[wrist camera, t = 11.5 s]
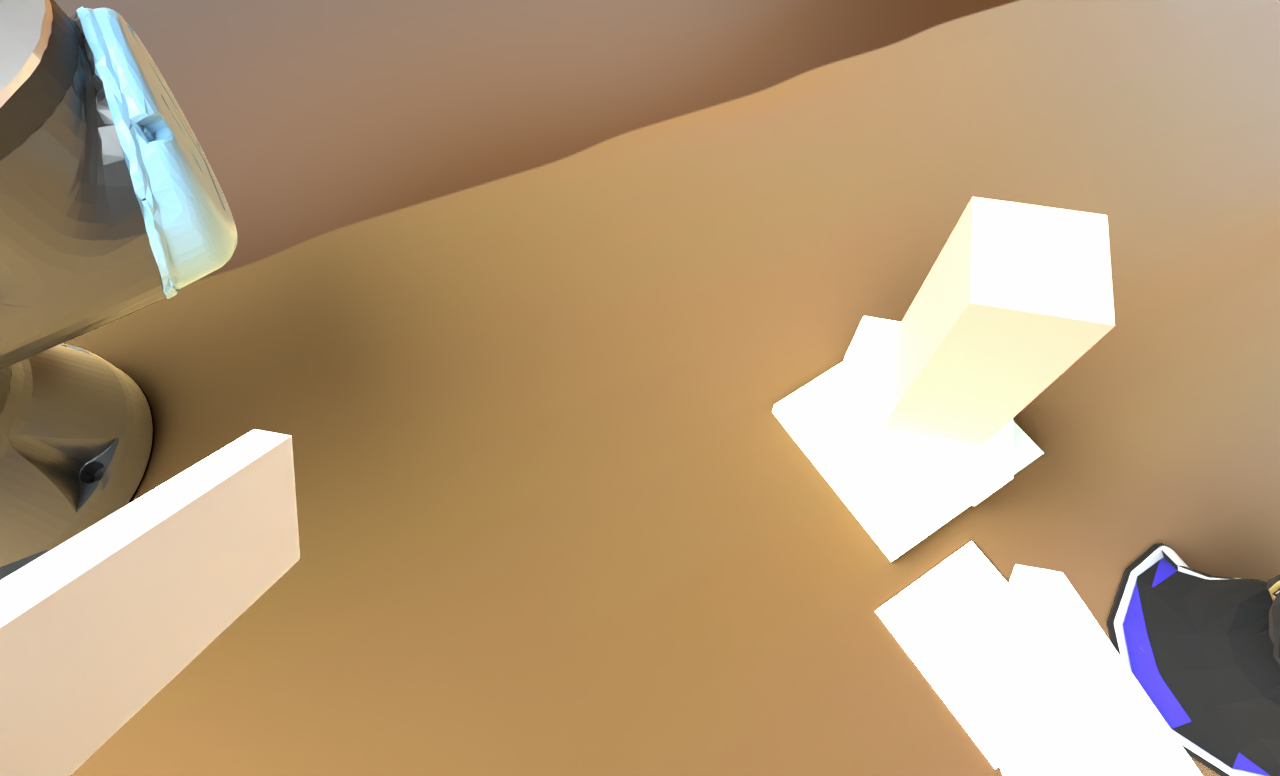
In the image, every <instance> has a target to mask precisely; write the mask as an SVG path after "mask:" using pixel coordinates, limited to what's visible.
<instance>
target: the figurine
mask: <svg viewBox="0 0 1280 776" xmlns="http://www.w3.org/2000/svg"><path fill="white" fill-rule="evenodd" d="M1107 625H1108V630H1109V635H1110V639H1111V643H1112V644H1113V646H1114V647H1115V649H1116V650H1117V652H1118V653H1119V655H1120V656H1121V657H1122V659H1123V660H1124V662H1125V663H1126V665H1127V666H1128V668H1129V669H1130V671H1131V672H1132V673H1133V675H1134V676H1135V678H1136V679H1137V681H1138V682H1139V684H1140V685H1141V687H1142V688H1143V689H1144V691H1145V692H1146V694H1147V695H1148V697H1149V698H1150V700H1151V701H1152V703H1153V704H1154V705H1155V707H1156V708H1157V710H1158V711H1159V713H1160V714H1161V716H1162V717H1163V718H1164V720H1165V721H1166V723H1167V724H1168V726H1169V727H1170V729H1171V730H1172V732H1173V733H1174V734H1175V736H1176V737H1177V739H1178V740H1179V742H1180V743H1181V745H1182V746H1183V748H1184V749H1185V750H1186V752H1187V753H1188V755H1190V756H1191V757H1193V758H1194V759H1196V760H1198V761H1199V762H1201V763H1202V764H1204V765H1205V766H1207V767H1208V768H1210V769H1211V770H1213V771H1215V772H1216V773H1218V774H1219V775H1221V776H1280V575H1278V576H1276V577H1274V578H1272V579H1270V580H1268V583H1266V582H1263V581H1260V580H1252V579H1241V578H1227V577H1213V576H1210V575H1207V574H1205V573H1202V572H1199V571H1196V570H1194V569H1191V568H1189V567H1188V566H1187V565H1186V564H1185V562H1184V561H1183V560H1182V559H1181V558H1180V557H1179V556H1178V555H1177V554H1176V553H1175V551H1174V550H1173V549H1172V548H1170V547H1169V546H1166V545H1164V544H1155V545H1154V546H1152V547H1151V548H1150V549H1149V550H1148V551H1147V552H1146V553H1144V554H1143V555H1142V556H1141V557H1140V558H1139V559H1138V560H1136V561H1135V562H1134V563H1133V564H1132V565H1131V566H1130V567H1128V568H1127V569H1126V570H1125V571H1124V574H1123V577H1122V580H1121V583H1120V586H1119V589H1118V592H1117V595H1116V598H1115V601H1114V604H1113V606H1112V609H1111V612H1110V615H1109V618H1108V621H1107Z"/></svg>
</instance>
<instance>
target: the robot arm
mask: <svg viewBox="0 0 1280 776" xmlns="http://www.w3.org/2000/svg"><path fill="white" fill-rule="evenodd" d="M236 246H237V231H236V226H235V223H234V219H233V217H232V214H231V211H230V209H229V206H228V204H227V201H226V199H225V197H224V194H223V192H222V190H221V188H220V185H219V183H218V181H217V179H216V177H215V175H214V173H213V171H212V169H211V167H210V165H209V162H208V161H207V158H206V156H205V154H204V152H203V150H202V148H201V146H200V144H199V143H198V140H197V139H196V137H195V135H194V133H193V131H192V129H191V127H190V125H189V123H188V121H187V120H186V118H185V116H184V114H183V112H182V110H181V109H180V106H179V105H178V103H177V101H176V99H175V97H174V96H173V94H172V92H171V90H170V89H169V87H168V85H167V83H166V81H165V80H164V78H163V76H162V75H161V73H160V71H159V69H158V68H157V66H156V64H155V63H154V61H153V59H152V58H151V56H150V55H149V53H148V51H147V50H146V48H145V47H144V45H143V44H142V42H141V40H140V39H139V37H138V36H137V34H136V33H135V32H134V30H133V29H132V28H131V27H130V26H129V25H128V24H127V23H126V22H125V20H124V18H123V17H122V16H121V15H120V14H118V13H117V12H115V11H114V10H112V9H109V8H99V9H90V8H85V9H83V7H81V8H79V9H77V12H76V13H75V14H74V15H73V16H72V17H71V18H70V17H68V16H67V15H66V14H65V13H64V12H63V11H62V10H61V8H60V7H59V6H58V5H57V4H56V2H55V1H54V0H0V776H70V775H72V774H73V773H74V772H75V771H76V770H77V769H78V768H79V767H80V766H81V765H82V764H83V763H84V762H85V761H86V760H87V759H89V758H90V757H91V756H92V755H93V754H94V753H95V752H96V751H97V750H98V749H99V748H100V747H101V746H102V745H103V744H104V743H106V742H107V741H108V740H109V739H110V738H111V737H112V736H113V735H114V734H115V733H116V732H117V731H118V730H119V729H120V728H121V727H123V726H124V725H125V724H126V723H127V722H128V721H129V720H130V719H131V718H132V717H133V716H134V715H135V714H136V713H137V712H138V711H139V710H141V709H142V708H143V707H144V706H145V705H146V704H147V703H148V702H149V701H150V700H151V699H152V698H153V697H154V696H155V695H156V694H158V693H159V692H160V691H161V690H162V689H163V688H164V687H165V686H166V685H167V684H168V683H169V682H170V681H171V680H172V679H173V678H175V677H176V676H177V675H178V674H179V673H180V672H181V671H182V670H183V669H184V668H185V667H186V666H187V665H188V664H189V663H190V662H192V661H193V660H194V659H195V658H196V657H197V656H198V655H199V654H200V653H201V652H202V651H203V650H204V649H205V648H206V647H207V646H209V645H210V644H211V643H212V642H213V641H214V640H215V639H216V638H217V637H218V636H219V635H220V634H221V633H222V632H223V631H224V630H226V629H227V628H228V627H229V626H230V625H231V624H232V623H233V622H234V621H235V620H236V619H237V618H238V617H239V616H240V615H241V614H242V613H244V612H245V611H246V610H247V609H248V608H249V607H250V606H251V605H252V604H253V603H254V602H255V601H256V600H257V599H258V598H259V597H261V596H262V595H263V594H264V593H265V592H266V591H267V590H268V589H269V588H270V587H271V586H272V585H273V584H274V583H275V582H276V581H278V580H279V579H280V578H281V577H282V576H283V575H284V574H285V573H286V572H287V571H288V570H289V569H290V568H291V567H292V566H293V565H295V564H296V563H297V562H298V561H299V560H300V546H299V532H298V518H297V503H296V489H295V475H294V460H293V446H292V435H286V434H280V433H275V432H269V431H263V430H258V429H253V430H251V431H250V432H248V433H246V434H245V435H243V436H241V437H240V438H238V439H236V440H235V441H233V442H231V443H230V444H228V445H226V446H225V447H223V448H221V449H220V450H218V451H216V452H214V453H213V454H211V455H209V456H208V457H206V458H204V459H203V460H201V461H199V462H198V463H196V464H194V465H193V466H191V467H189V468H188V469H186V470H184V471H183V472H181V473H179V474H178V475H176V476H174V477H173V478H171V479H169V480H168V481H166V482H164V483H163V484H161V485H159V486H158V487H156V488H154V489H152V490H151V491H149V492H147V493H146V494H144V495H142V496H141V497H139V498H137V499H136V500H134V501H132V502H131V503H129V504H128V502H129V501H130V499H131V498H132V496H133V494H134V493H135V491H136V489H137V487H138V485H139V483H140V481H141V479H142V477H143V474H144V471H145V469H146V466H147V463H148V460H149V456H150V451H151V445H152V435H153V425H152V417H151V412H150V408H149V405H148V402H147V400H146V397H145V396H144V394H143V392H142V390H141V389H140V387H139V386H138V385H137V384H136V382H135V381H134V380H133V379H132V378H131V377H130V376H128V375H127V374H126V373H124V372H123V371H121V370H120V369H118V368H117V367H115V366H114V365H112V364H111V363H109V362H107V361H106V360H104V359H103V358H101V357H99V356H98V355H96V354H94V353H92V352H89V351H87V350H84V349H82V348H79V347H75V346H71V345H66V344H61V343H64V342H66V341H68V340H71V339H73V338H75V337H78V336H80V335H82V334H84V333H87V332H89V331H91V330H94V329H96V328H98V327H101V326H103V325H105V324H107V323H110V322H112V321H114V320H117V319H119V318H121V317H124V316H126V315H128V314H130V313H133V312H135V311H137V310H140V309H142V308H144V307H147V306H149V305H151V304H153V303H156V302H158V301H160V300H163V299H165V298H166V299H170V298H172V297H173V296H176V294H177V293H178V290H179V289H181V288H183V287H185V286H187V285H189V284H191V283H193V282H195V281H196V280H198V279H200V278H202V277H204V276H206V275H208V274H210V273H212V272H214V271H216V270H217V269H219V268H221V267H222V266H224V265H225V263H227V262H228V261H229V260H230V259H231V257H232V255H233V253H234V251H235V248H236ZM970 691H971V694H972V697H973V699H974V702H975V704H976V707H977V710H978V712H979V715H980V718H981V720H982V723H983V726H984V728H985V731H986V733H987V736H988V739H989V741H990V744H991V747H992V749H993V752H994V755H995V757H996V760H997V763H998V765H999V768H1000V770H1001V773H1002V776H1203V775H1202V774H1201V772H1200V771H1199V769H1198V768H1197V766H1196V765H1195V764H1194V762H1193V761H1192V759H1191V758H1190V756H1189V755H1188V753H1187V752H1186V750H1185V749H1184V748H1183V746H1182V745H1181V743H1180V742H1179V740H1178V739H1177V737H1176V736H1175V734H1174V733H1173V732H1172V730H1171V729H1170V727H1169V726H1168V724H1167V723H1166V721H1165V720H1164V718H1163V717H1162V716H1161V714H1160V713H1159V711H1158V710H1157V708H1156V707H1155V705H1154V704H1153V703H1152V701H1151V700H1150V698H1149V697H1148V695H1147V694H1146V692H1145V691H1144V689H1143V688H1142V687H1141V685H1140V684H1139V682H1138V681H1137V679H1136V678H1135V676H1134V675H1133V673H1132V672H1131V671H1130V669H1129V668H1128V666H1127V665H1126V663H1125V662H1124V660H1123V659H1122V657H1121V656H1120V655H1119V653H1118V652H1117V650H1116V649H1115V647H1114V646H1113V644H1112V643H1111V642H1110V640H1109V639H1108V637H1107V636H1106V634H1105V633H1104V631H1103V630H1102V628H1101V627H1100V626H1099V624H1098V623H1097V621H1096V620H1095V618H1094V617H1093V615H1092V614H1091V612H1090V611H1089V610H1088V608H1087V607H1086V605H1085V604H1084V602H1083V601H1082V599H1081V598H1080V596H1079V595H1078V594H1077V592H1076V591H1075V589H1074V588H1073V586H1072V585H1071V583H1070V582H1069V581H1068V579H1067V578H1066V576H1065V575H1064V573H1063V572H1059V571H1053V570H1048V569H1042V568H1036V567H1031V566H1025V565H1019V564H1015V566H1014V569H1013V572H1012V575H1011V578H1010V580H1009V583H1008V586H1007V589H1006V592H1005V595H1004V597H1003V600H1002V603H1001V606H1000V609H999V611H998V614H997V617H996V620H995V623H994V625H993V628H992V631H991V634H990V637H989V639H988V642H987V645H986V648H985V651H984V653H983V656H982V659H981V662H980V665H979V667H978V670H977V673H976V676H975V679H974V681H973V684H972V687H971V690H970Z"/></svg>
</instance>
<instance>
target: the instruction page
mask: <svg viewBox="0 0 1280 776" xmlns="http://www.w3.org/2000/svg"><path fill="white" fill-rule="evenodd" d="M1007 586H1008V582H1007V581H1006V580H1005V579H1004V578H1003V576H1002V575H1001V574H1000V573H999V572H998V571H997V569H996V568H995V567H994V566H993V565H992V564H991V562H990V561H989V560H988V559H987V558H986V557H985V555H984V554H983V553H982V552H981V551H980V550H979V548H978V547H977V546H976V545H975V544H974V543H973V541H970V542H969V543H967V544H966V545H965V546H963V547H962V548H960V549H959V550H958V551H956V552H955V553H954V554H952V555H951V556H949V557H948V558H947V559H945V560H944V561H943V562H941V563H940V564H938V565H937V566H936V567H934V568H933V569H932V570H930V571H929V572H927V573H926V574H925V575H923V576H922V577H921V578H919V579H918V580H916V581H915V582H914V583H912V584H911V585H909V586H908V587H907V588H905V589H904V590H903V591H901V592H900V593H898V594H897V595H896V596H894V597H893V598H892V599H890V600H889V601H887V602H886V603H885V604H883V605H882V606H881V607H879V608H878V609H876V610H875V613H876V614H877V615H878V617H879V618H880V619H881V620H882V622H883V623H884V624H885V626H886V627H887V628H888V630H889V631H890V632H891V634H892V635H893V636H894V638H895V639H896V640H897V641H898V643H899V644H900V645H901V647H902V648H903V649H904V651H905V652H906V653H907V655H908V656H909V657H910V659H911V660H912V661H913V663H914V664H915V665H916V666H917V668H918V669H919V670H920V672H921V673H922V674H923V676H924V677H925V678H926V680H927V681H928V682H929V684H930V685H931V686H932V687H933V689H934V690H935V691H936V693H937V694H938V695H939V697H940V698H941V699H942V701H943V702H944V703H945V705H946V706H947V707H948V708H949V710H950V711H951V712H952V714H953V715H954V716H955V718H956V719H957V720H958V722H959V723H960V724H961V726H962V727H963V728H964V729H965V731H966V732H967V733H968V735H969V736H970V737H971V739H972V740H973V741H974V743H975V744H976V745H977V747H978V748H979V749H980V751H981V752H982V753H983V754H984V756H985V757H986V758H987V760H988V761H989V762H990V764H991V765H992V766H993V768H994V769H997V768H998V767H999V765H998V763H997V760H996V757H995V755H994V752H993V749H992V747H991V744H990V741H989V739H988V736H987V733H986V731H985V728H984V726H983V723H982V720H981V718H980V715H979V712H978V710H977V707H976V704H975V702H974V699H973V697H972V694H971V691H970V690H971V687H972V684H973V681H974V679H975V676H976V673H977V670H978V667H979V665H980V662H981V659H982V656H983V653H984V651H985V648H986V645H987V642H988V639H989V637H990V634H991V631H992V628H993V625H994V623H995V620H996V617H997V614H998V611H999V609H1000V606H1001V603H1002V600H1003V597H1004V595H1005V592H1006V589H1007Z"/></svg>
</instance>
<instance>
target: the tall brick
mask: <svg viewBox="0 0 1280 776" xmlns="http://www.w3.org/2000/svg"><path fill="white" fill-rule="evenodd" d="M1114 326H1115V316H1114V302H1113V288H1112V273H1111V259H1110V245H1109V230H1108V216H1107V215H1104V214H1097V213H1090V212H1082V211H1075V210H1068V209H1061V208H1053V207H1046V206H1039V205H1031V204H1024V203H1017V202H1010V201H1002V200H995V199H988V198H981V197H973V196H972V198H971V200H970V202H969V203H968V205H967V207H966V209H965V210H964V212H963V214H962V216H961V218H960V219H959V221H958V223H957V225H956V226H955V228H954V230H953V232H952V233H951V235H950V237H949V239H948V240H947V242H946V244H945V246H944V248H943V249H942V251H941V253H940V255H939V256H938V258H937V260H936V262H935V263H934V265H933V267H932V269H931V270H930V272H929V274H928V276H927V278H926V279H925V281H924V283H923V285H922V286H921V288H920V290H919V292H918V293H917V295H916V297H915V299H914V300H913V302H912V304H911V306H910V308H909V309H908V311H907V313H906V315H905V316H904V318H903V320H902V322H901V323H900V325H899V327H898V329H897V331H896V332H895V334H894V336H893V338H892V339H891V341H890V343H889V347H888V359H887V371H886V383H885V395H884V407H883V419H882V428H887V429H892V430H898V431H903V432H909V433H914V434H920V435H925V436H931V437H936V438H942V439H947V440H953V441H958V442H964V443H970V444H975V445H981V446H983V445H984V444H985V443H986V442H987V441H988V440H989V439H990V438H992V437H993V436H994V435H995V434H996V433H997V432H998V431H999V430H1000V429H1001V428H1003V427H1004V426H1005V425H1006V424H1007V423H1008V422H1009V421H1010V420H1011V419H1013V418H1014V417H1015V416H1016V415H1017V414H1018V413H1019V412H1020V411H1021V410H1022V409H1024V408H1025V407H1026V406H1027V405H1028V404H1029V403H1030V402H1031V401H1032V400H1034V399H1035V398H1036V397H1037V396H1038V395H1039V394H1040V393H1041V392H1042V391H1044V390H1045V389H1046V388H1047V387H1048V386H1049V385H1050V384H1051V383H1052V382H1053V381H1055V380H1056V379H1057V378H1058V377H1059V376H1060V375H1061V374H1062V373H1063V372H1065V371H1066V370H1067V369H1068V368H1069V367H1070V366H1071V365H1072V364H1073V363H1074V362H1076V361H1077V360H1078V359H1079V358H1080V357H1081V356H1082V355H1083V354H1084V353H1086V352H1087V351H1088V350H1089V349H1090V348H1091V347H1092V346H1093V345H1094V344H1095V343H1097V342H1098V341H1099V340H1100V339H1101V338H1102V337H1103V336H1104V335H1105V334H1107V333H1108V332H1109V331H1110V330H1111V329H1112V328H1113V327H1114Z"/></svg>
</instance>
